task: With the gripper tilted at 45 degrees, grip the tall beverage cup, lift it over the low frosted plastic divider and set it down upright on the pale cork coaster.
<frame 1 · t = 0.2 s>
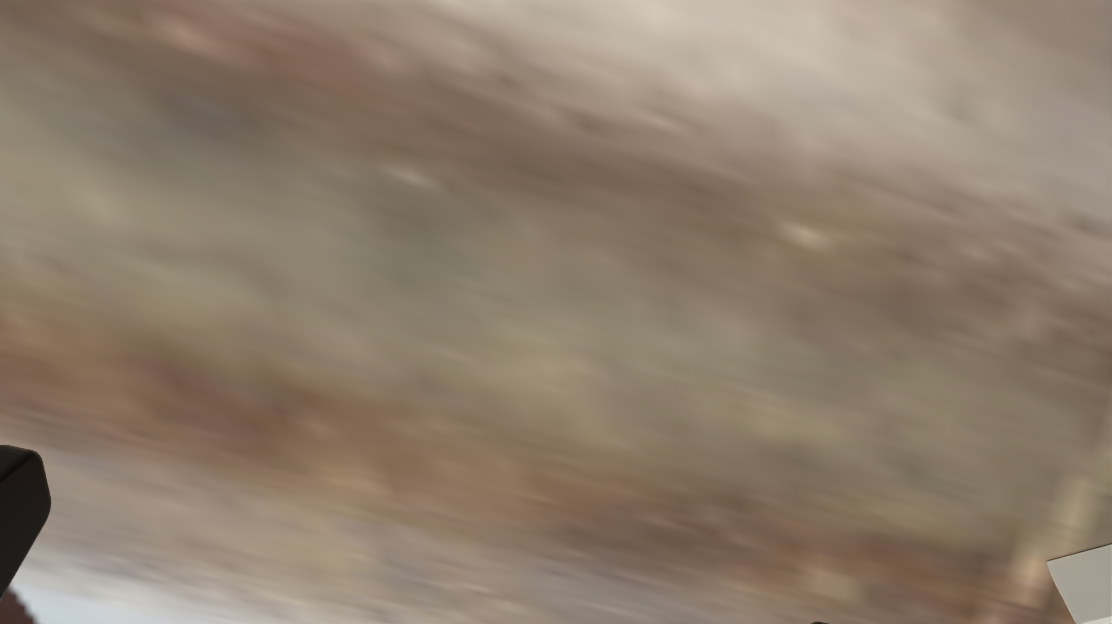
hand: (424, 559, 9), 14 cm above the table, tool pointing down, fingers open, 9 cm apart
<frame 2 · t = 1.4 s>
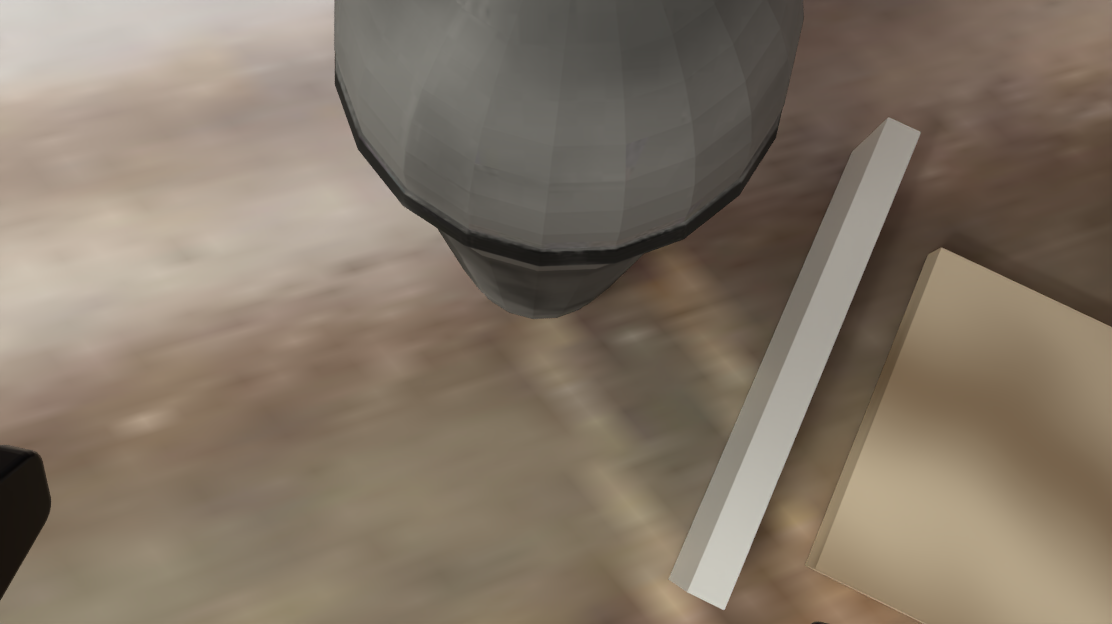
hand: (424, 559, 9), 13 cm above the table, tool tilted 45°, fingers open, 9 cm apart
divider wall: (781, 360, 24), on the table
beverage cup: (540, 246, 24), on the table
coaster: (1027, 479, 24), on the table
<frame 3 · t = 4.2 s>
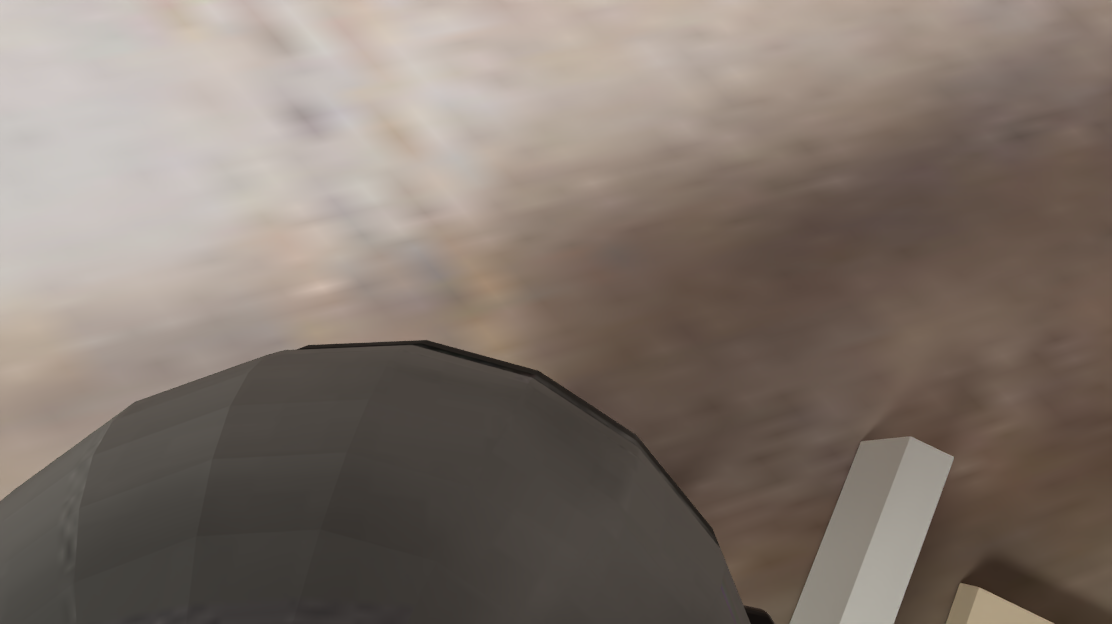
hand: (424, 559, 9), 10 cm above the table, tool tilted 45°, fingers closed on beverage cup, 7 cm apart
beverage cup: (455, 579, 19), on the table, touching gripper
when the fingers open (12 cm above the table, at t = 8.9 s): beverage cup drops 1 cm, resting on coaster.
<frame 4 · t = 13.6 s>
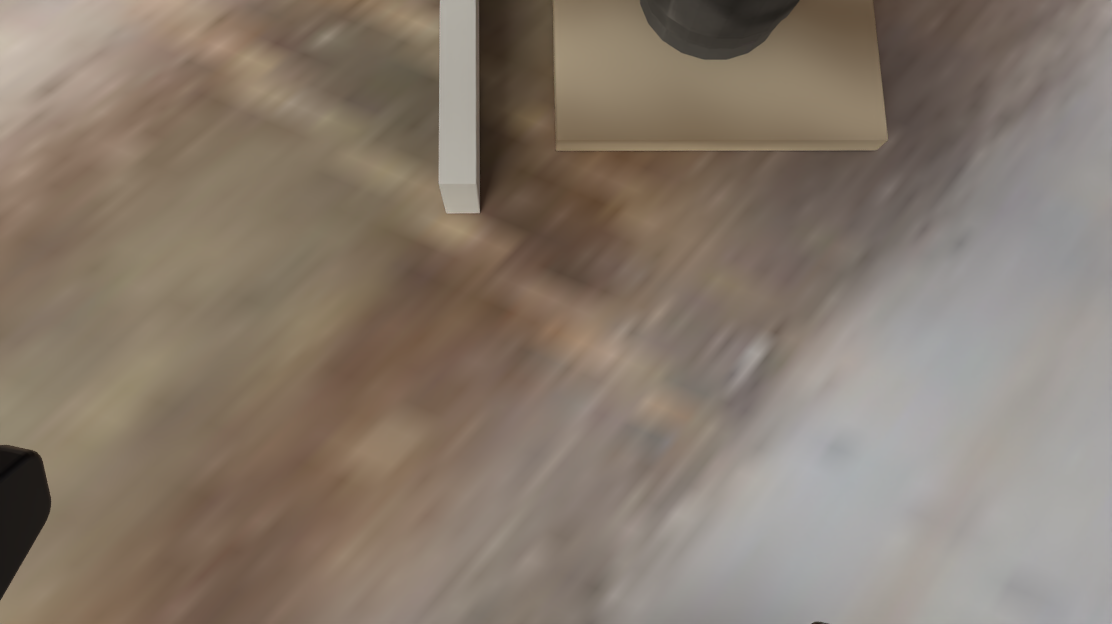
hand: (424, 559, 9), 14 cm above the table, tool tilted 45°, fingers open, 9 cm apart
divider wall: (463, 0, 26), on the table
coaster: (708, 3, 26), on the table
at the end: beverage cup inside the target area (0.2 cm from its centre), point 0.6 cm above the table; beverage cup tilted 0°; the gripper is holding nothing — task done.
